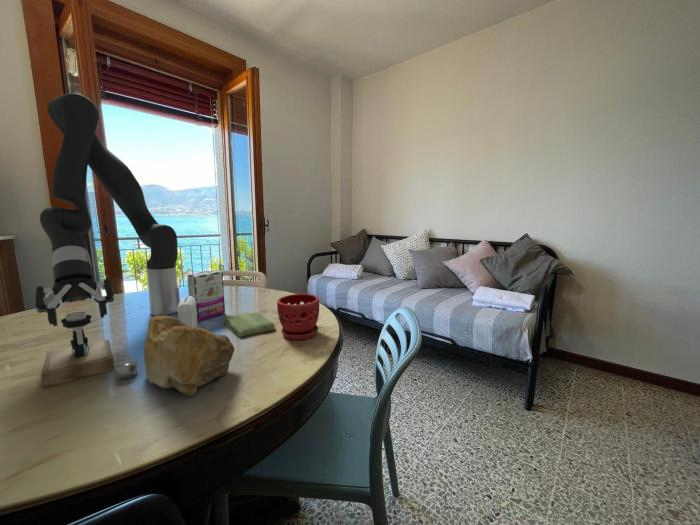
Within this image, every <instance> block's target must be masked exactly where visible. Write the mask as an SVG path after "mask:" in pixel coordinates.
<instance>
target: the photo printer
mask: <svg viewBox="0 0 700 525" xmlns="http://www.w3.org/2000/svg"><path fill="white" fill-rule="evenodd" d="M177 319H178V320H179V321H181V322H182V323H184V324H185V325H186V326H189V327H190V328H195V327H198V326H199V325H198V321H197V309H196V300H195V298H194V297H192V296H189V295H188V296H187V295H186V296H184V297H182V298H181V300H180V303H179V305H178V312H177Z"/></svg>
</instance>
